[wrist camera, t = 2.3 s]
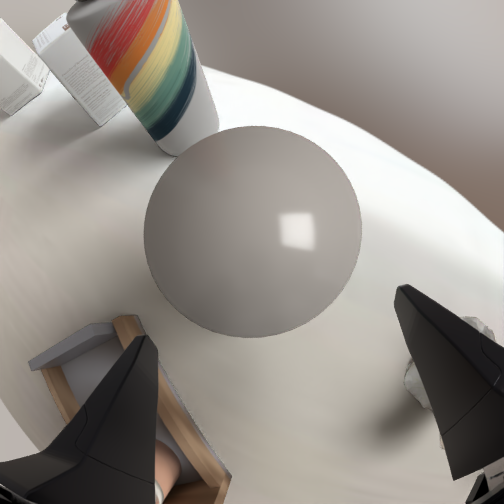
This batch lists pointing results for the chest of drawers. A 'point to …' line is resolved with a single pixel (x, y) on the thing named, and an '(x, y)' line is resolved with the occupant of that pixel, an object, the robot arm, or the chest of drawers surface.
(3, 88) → the skincare box
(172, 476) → the jar
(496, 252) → the chest of drawers surface
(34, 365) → the bar
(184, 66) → the lotion bottle
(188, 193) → the mint green grey canister
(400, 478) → the chest of drawers surface
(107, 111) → the skincare box
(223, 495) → the wooden tray
